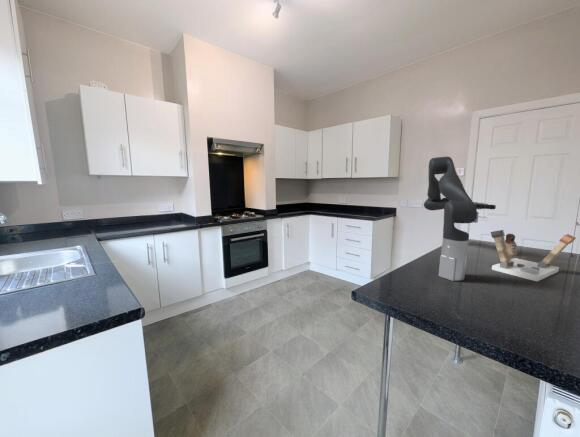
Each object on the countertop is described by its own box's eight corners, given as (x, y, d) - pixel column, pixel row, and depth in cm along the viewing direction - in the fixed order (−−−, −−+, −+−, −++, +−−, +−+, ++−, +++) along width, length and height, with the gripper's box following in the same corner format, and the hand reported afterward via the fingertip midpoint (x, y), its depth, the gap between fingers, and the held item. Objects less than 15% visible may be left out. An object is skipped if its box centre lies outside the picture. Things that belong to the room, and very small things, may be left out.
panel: (537, 281, 102) (538, 272, 102) (491, 269, 116) (492, 261, 116) (558, 271, 114) (559, 262, 113) (514, 261, 128) (515, 253, 127)
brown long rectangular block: (544, 268, 113) (572, 239, 104) (537, 264, 115) (563, 235, 107) (548, 266, 115) (576, 237, 107) (541, 262, 117) (568, 234, 109)
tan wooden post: (508, 267, 112) (497, 231, 114) (500, 267, 114) (490, 232, 117) (513, 265, 114) (503, 229, 117) (506, 265, 117) (496, 230, 119)
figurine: (518, 254, 140) (521, 233, 138) (514, 256, 136) (517, 235, 134) (502, 251, 146) (504, 231, 144) (498, 253, 142) (500, 233, 140)
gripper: (453, 198, 140) (489, 200, 125) (466, 197, 146) (501, 199, 131) (452, 211, 141) (487, 215, 126) (465, 210, 147) (500, 213, 132)
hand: (494, 207), depth 128 cm, fingers closed
